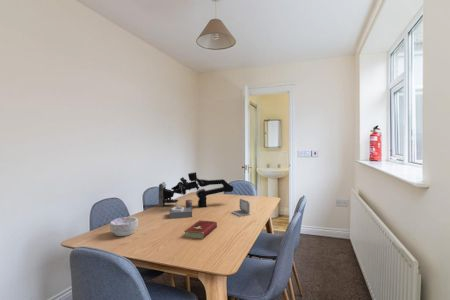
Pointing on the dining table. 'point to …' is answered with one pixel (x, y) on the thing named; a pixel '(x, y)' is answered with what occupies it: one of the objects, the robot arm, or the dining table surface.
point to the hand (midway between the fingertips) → (171, 190)
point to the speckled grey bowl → (123, 226)
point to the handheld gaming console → (243, 208)
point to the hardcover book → (200, 229)
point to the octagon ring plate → (180, 212)
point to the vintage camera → (165, 195)
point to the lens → (189, 204)
